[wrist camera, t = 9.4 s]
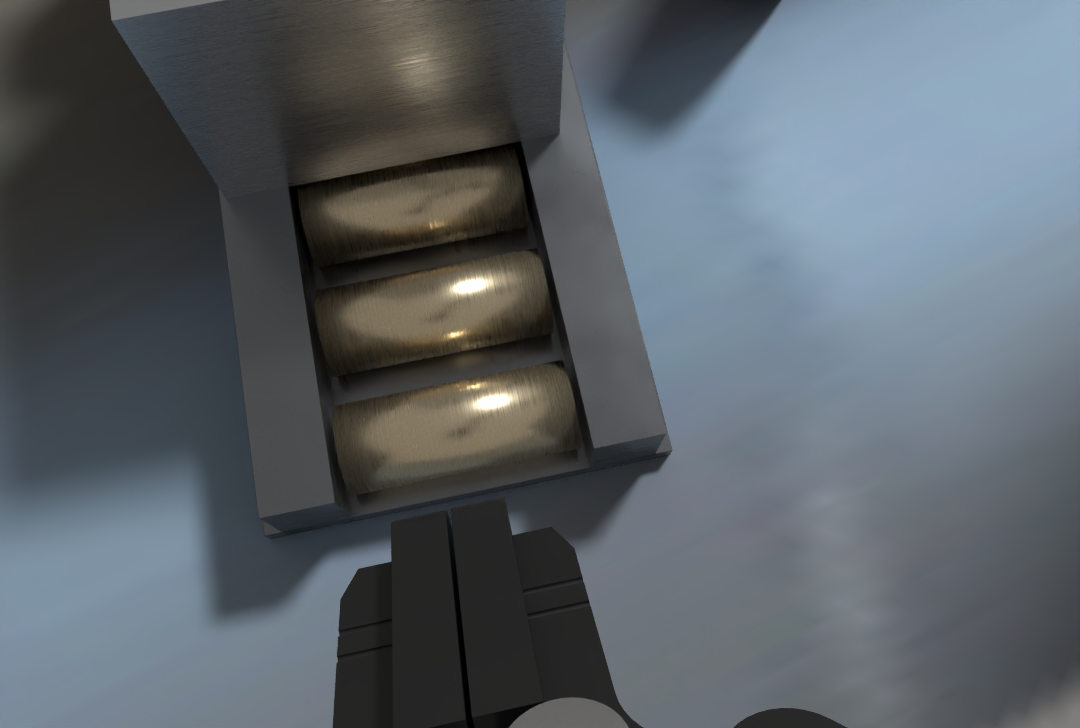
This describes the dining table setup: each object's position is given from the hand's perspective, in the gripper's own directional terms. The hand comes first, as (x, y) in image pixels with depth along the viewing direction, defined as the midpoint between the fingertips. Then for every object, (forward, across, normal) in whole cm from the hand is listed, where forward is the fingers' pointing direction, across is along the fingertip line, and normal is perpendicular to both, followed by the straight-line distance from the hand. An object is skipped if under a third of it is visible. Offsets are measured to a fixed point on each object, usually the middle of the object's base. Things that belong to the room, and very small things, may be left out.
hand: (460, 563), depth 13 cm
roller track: (+21, 0, +1) cm, 21 cm away
